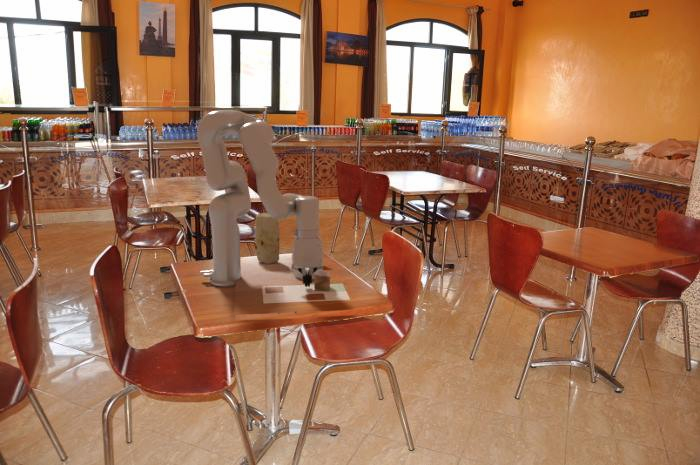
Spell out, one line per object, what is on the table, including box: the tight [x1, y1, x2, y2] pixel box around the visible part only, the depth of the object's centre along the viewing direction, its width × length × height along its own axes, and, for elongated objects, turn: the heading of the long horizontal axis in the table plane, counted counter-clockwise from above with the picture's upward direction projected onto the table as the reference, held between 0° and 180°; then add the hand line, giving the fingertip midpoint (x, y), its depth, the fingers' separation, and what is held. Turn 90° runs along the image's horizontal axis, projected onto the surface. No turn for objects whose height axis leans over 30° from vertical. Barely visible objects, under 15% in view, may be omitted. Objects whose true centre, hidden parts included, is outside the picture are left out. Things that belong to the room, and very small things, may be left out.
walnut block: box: [313, 271, 331, 291], centre depth 193 cm, size 5×5×5 cm
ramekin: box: [293, 268, 324, 280], centre depth 208 cm, size 11×11×5 cm
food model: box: [254, 212, 281, 265], centre depth 224 cm, size 10×7×20 cm
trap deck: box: [261, 283, 351, 304], centre depth 189 cm, size 28×16×2 cm, turn 100°
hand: (307, 285), depth 193 cm, fingers closed
